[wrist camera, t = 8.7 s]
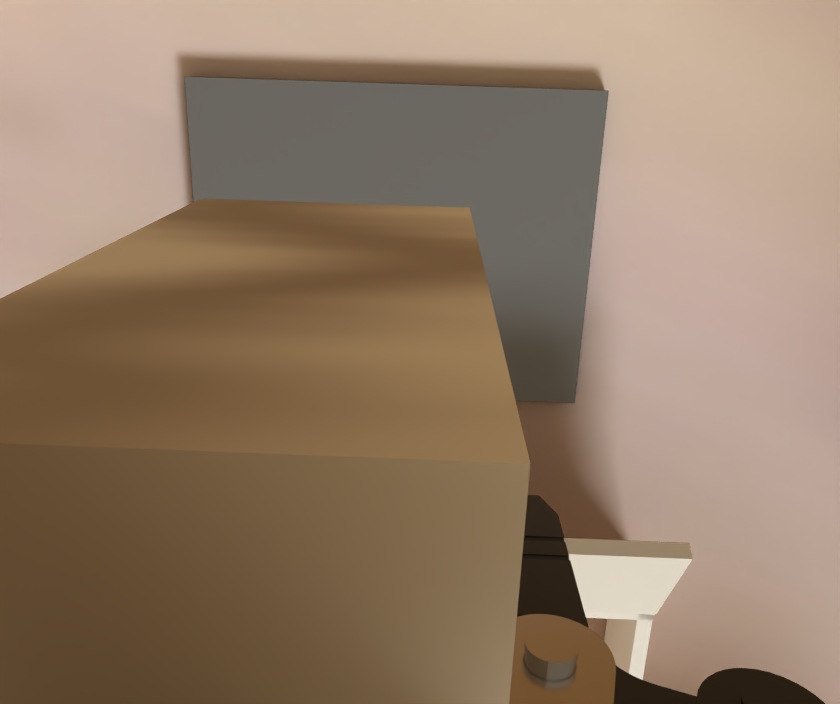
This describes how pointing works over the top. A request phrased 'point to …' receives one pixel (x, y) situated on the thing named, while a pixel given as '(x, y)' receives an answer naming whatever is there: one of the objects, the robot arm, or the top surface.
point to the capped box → (261, 465)
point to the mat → (432, 183)
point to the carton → (626, 589)
